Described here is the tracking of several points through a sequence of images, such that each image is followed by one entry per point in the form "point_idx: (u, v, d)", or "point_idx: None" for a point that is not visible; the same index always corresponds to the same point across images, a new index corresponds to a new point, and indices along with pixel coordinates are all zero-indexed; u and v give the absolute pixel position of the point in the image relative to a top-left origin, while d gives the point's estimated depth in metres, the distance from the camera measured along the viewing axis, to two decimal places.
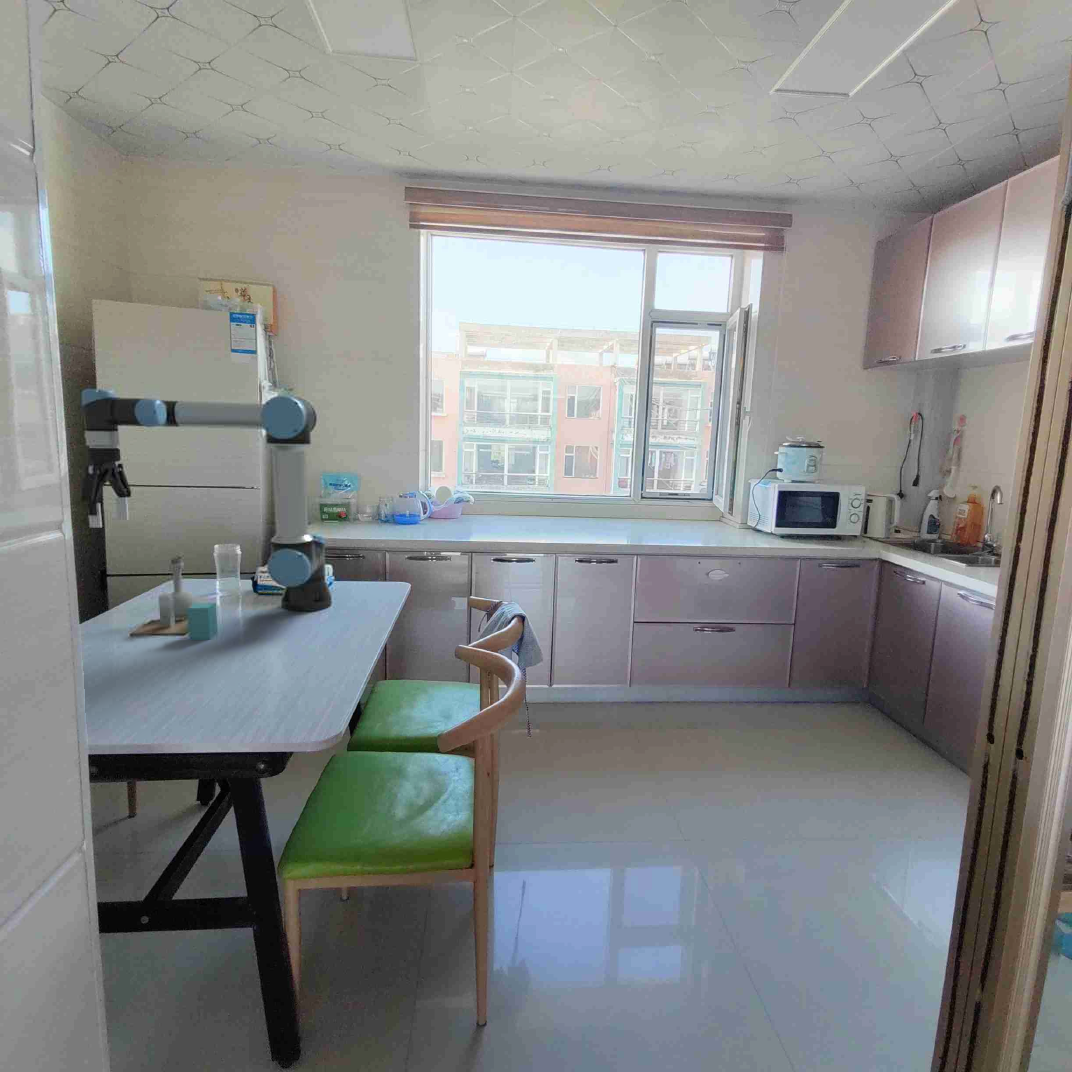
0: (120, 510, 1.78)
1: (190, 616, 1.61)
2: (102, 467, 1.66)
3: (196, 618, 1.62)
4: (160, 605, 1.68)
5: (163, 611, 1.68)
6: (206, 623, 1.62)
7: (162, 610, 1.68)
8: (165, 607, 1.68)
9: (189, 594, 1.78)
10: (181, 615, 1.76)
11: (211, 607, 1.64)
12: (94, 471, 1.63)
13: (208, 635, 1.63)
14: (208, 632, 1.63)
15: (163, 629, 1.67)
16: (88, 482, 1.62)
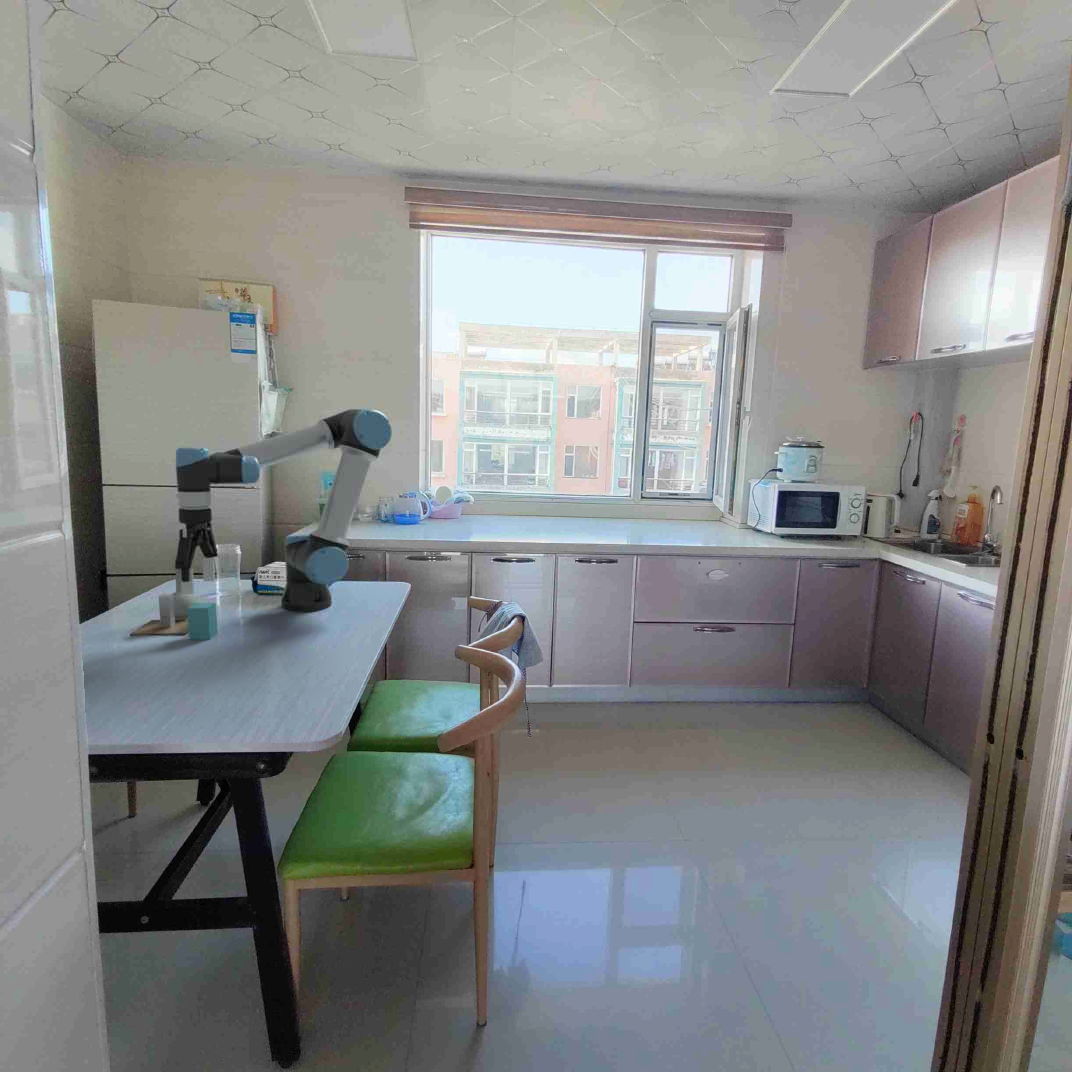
0: (206, 571, 1.68)
1: (190, 616, 1.61)
2: (195, 529, 1.57)
3: (196, 618, 1.62)
4: (160, 605, 1.68)
5: (163, 611, 1.68)
6: (206, 623, 1.62)
7: (162, 610, 1.68)
8: (165, 607, 1.68)
9: (191, 595, 1.78)
10: (181, 616, 1.76)
11: (211, 607, 1.64)
12: (188, 535, 1.54)
13: (208, 635, 1.63)
14: (208, 632, 1.63)
15: (163, 629, 1.67)
16: (182, 547, 1.53)
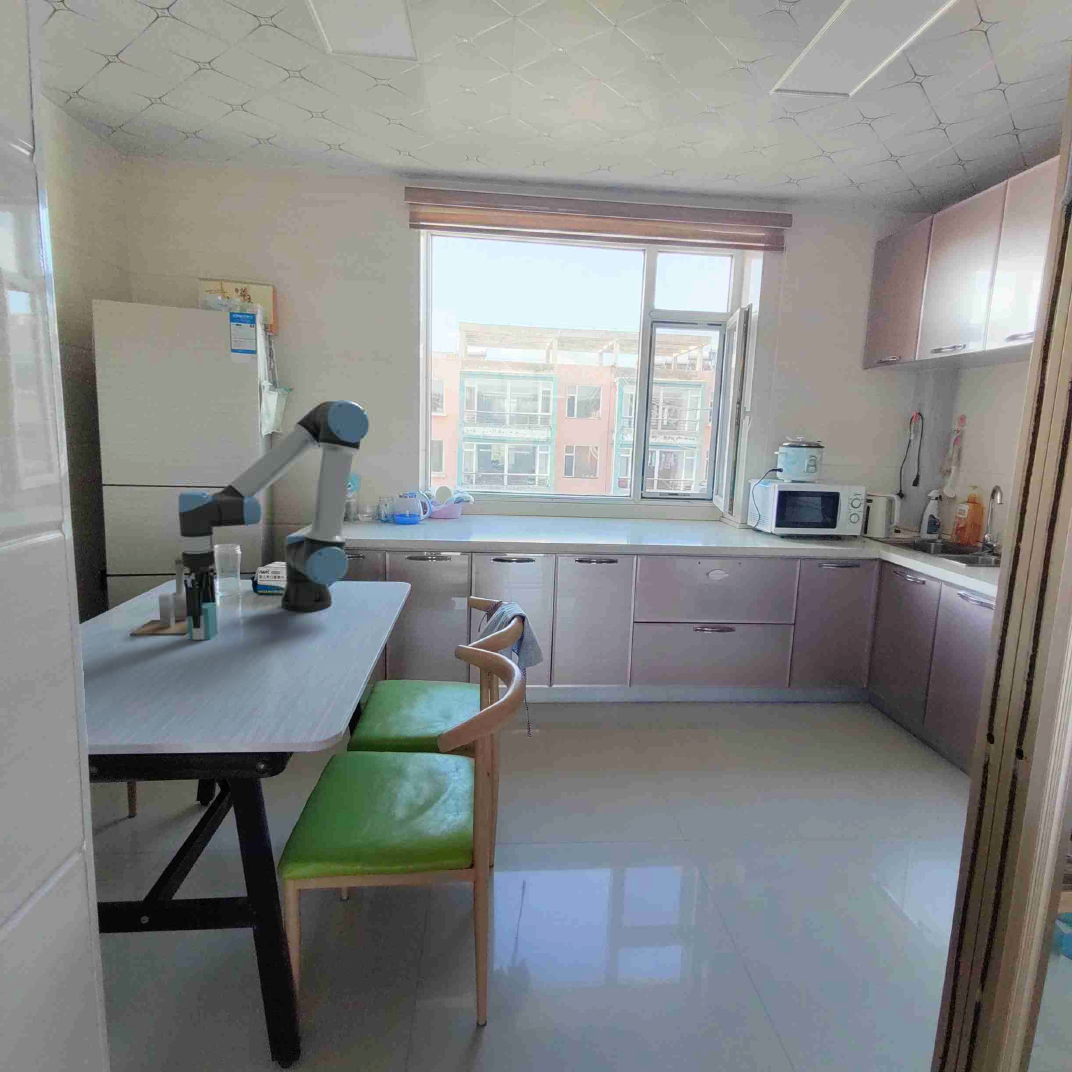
0: None
1: (190, 616, 1.61)
2: (198, 574, 1.59)
3: None
4: (160, 605, 1.68)
5: (163, 611, 1.68)
6: (206, 623, 1.62)
7: (162, 610, 1.68)
8: (165, 607, 1.68)
9: None
10: (181, 616, 1.76)
11: (211, 607, 1.64)
12: (193, 585, 1.56)
13: (208, 635, 1.63)
14: (208, 632, 1.63)
15: (163, 629, 1.67)
16: (190, 596, 1.57)
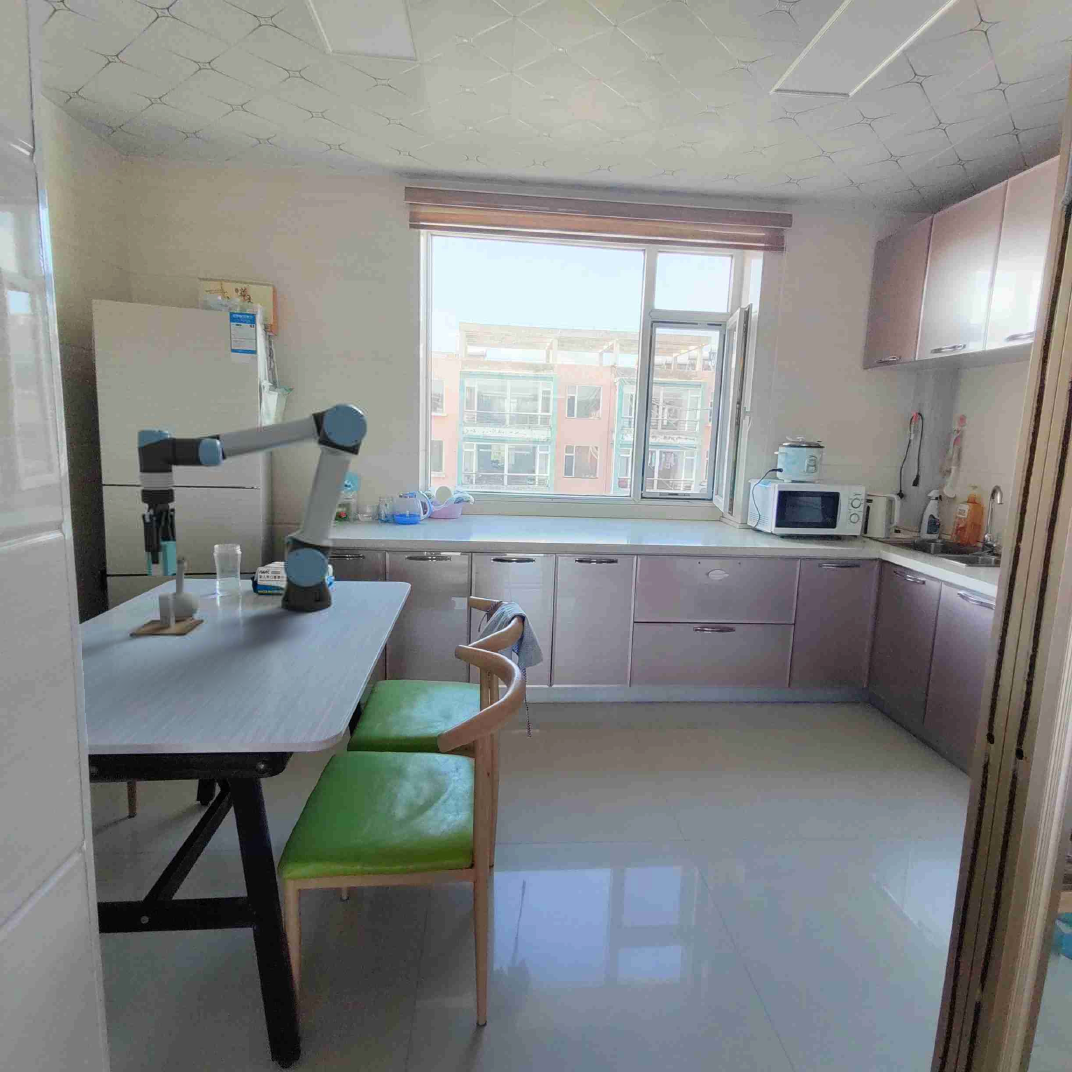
0: None
1: (148, 553, 1.64)
2: (156, 510, 1.62)
3: None
4: (160, 605, 1.68)
5: (163, 611, 1.68)
6: (165, 560, 1.65)
7: (162, 610, 1.68)
8: (165, 607, 1.68)
9: (191, 595, 1.78)
10: (181, 616, 1.76)
11: (170, 544, 1.66)
12: (151, 520, 1.59)
13: (167, 572, 1.65)
14: (167, 569, 1.65)
15: (163, 629, 1.67)
16: (148, 531, 1.60)
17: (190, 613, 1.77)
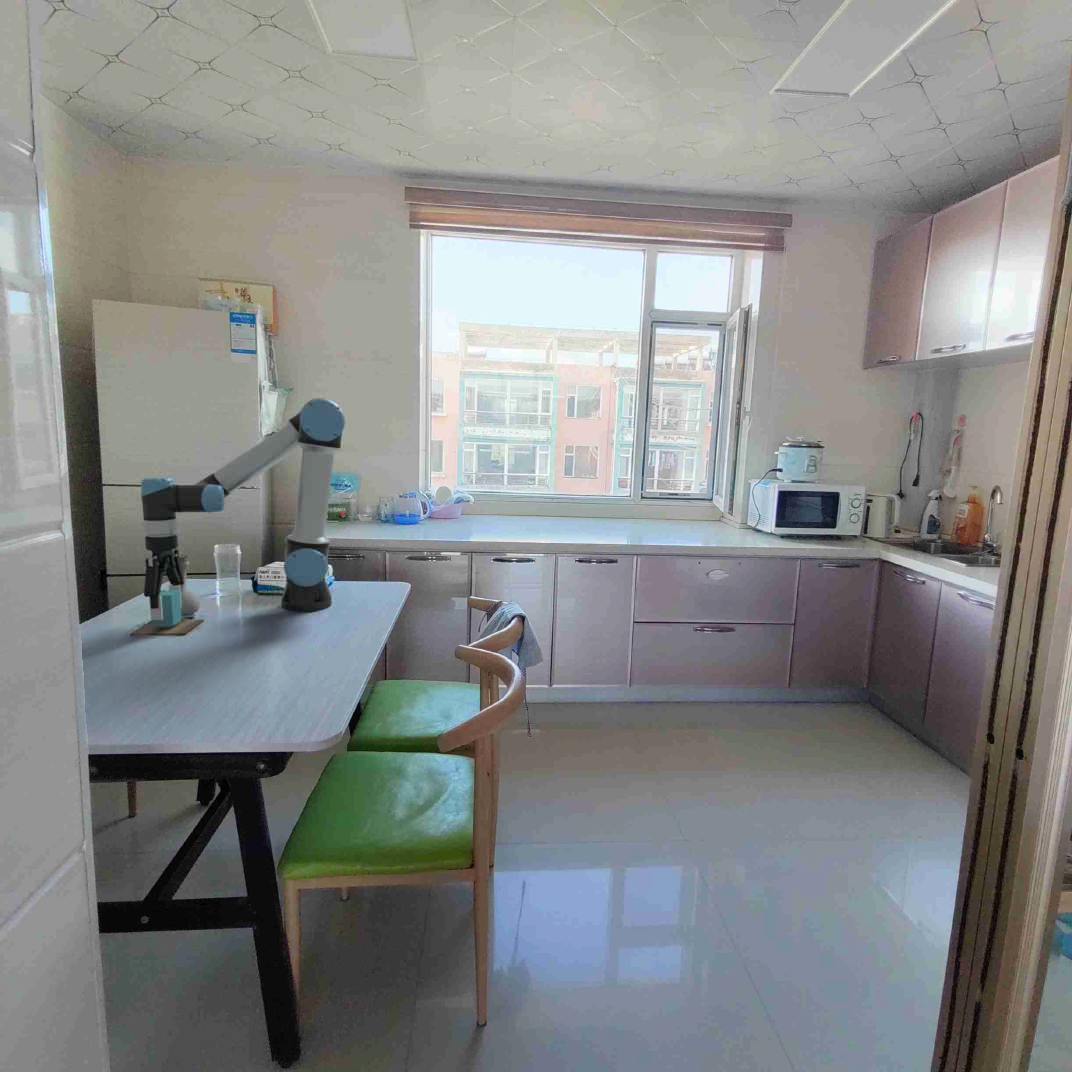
0: None
1: None
2: (160, 556, 1.64)
3: None
4: None
5: None
6: (169, 610, 1.67)
7: None
8: None
9: (192, 593, 1.80)
10: (183, 614, 1.77)
11: (174, 594, 1.69)
12: (154, 564, 1.61)
13: (171, 621, 1.68)
14: (171, 619, 1.68)
15: (163, 629, 1.67)
16: (149, 576, 1.60)
17: (192, 611, 1.78)
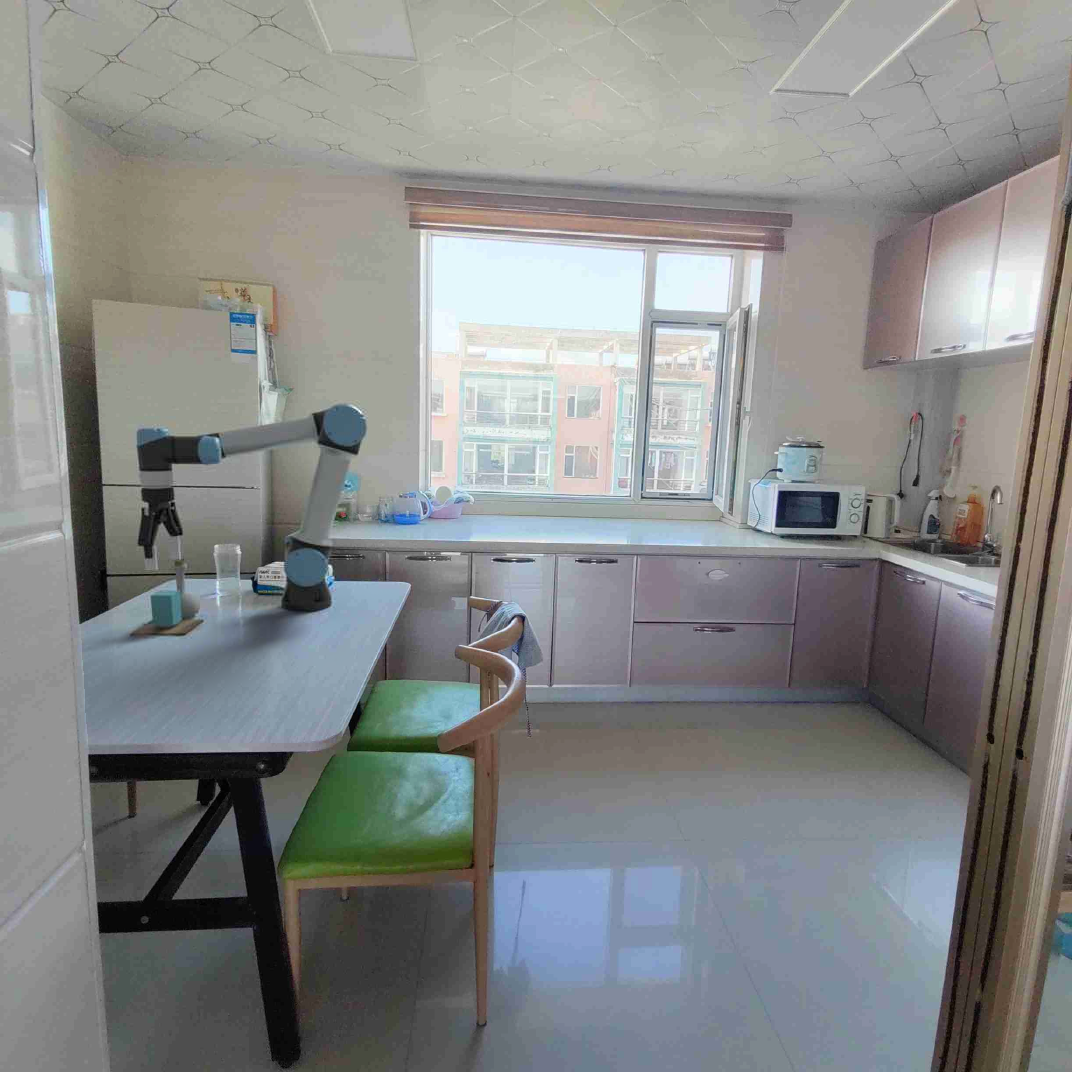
0: (172, 550, 1.73)
1: (153, 603, 1.66)
2: (157, 508, 1.62)
3: (159, 605, 1.67)
4: None
5: None
6: (169, 610, 1.67)
7: None
8: None
9: (192, 596, 1.79)
10: (184, 617, 1.78)
11: (174, 594, 1.69)
12: (150, 513, 1.58)
13: (171, 621, 1.68)
14: (171, 619, 1.68)
15: (163, 629, 1.67)
16: (144, 524, 1.57)
17: (193, 613, 1.78)
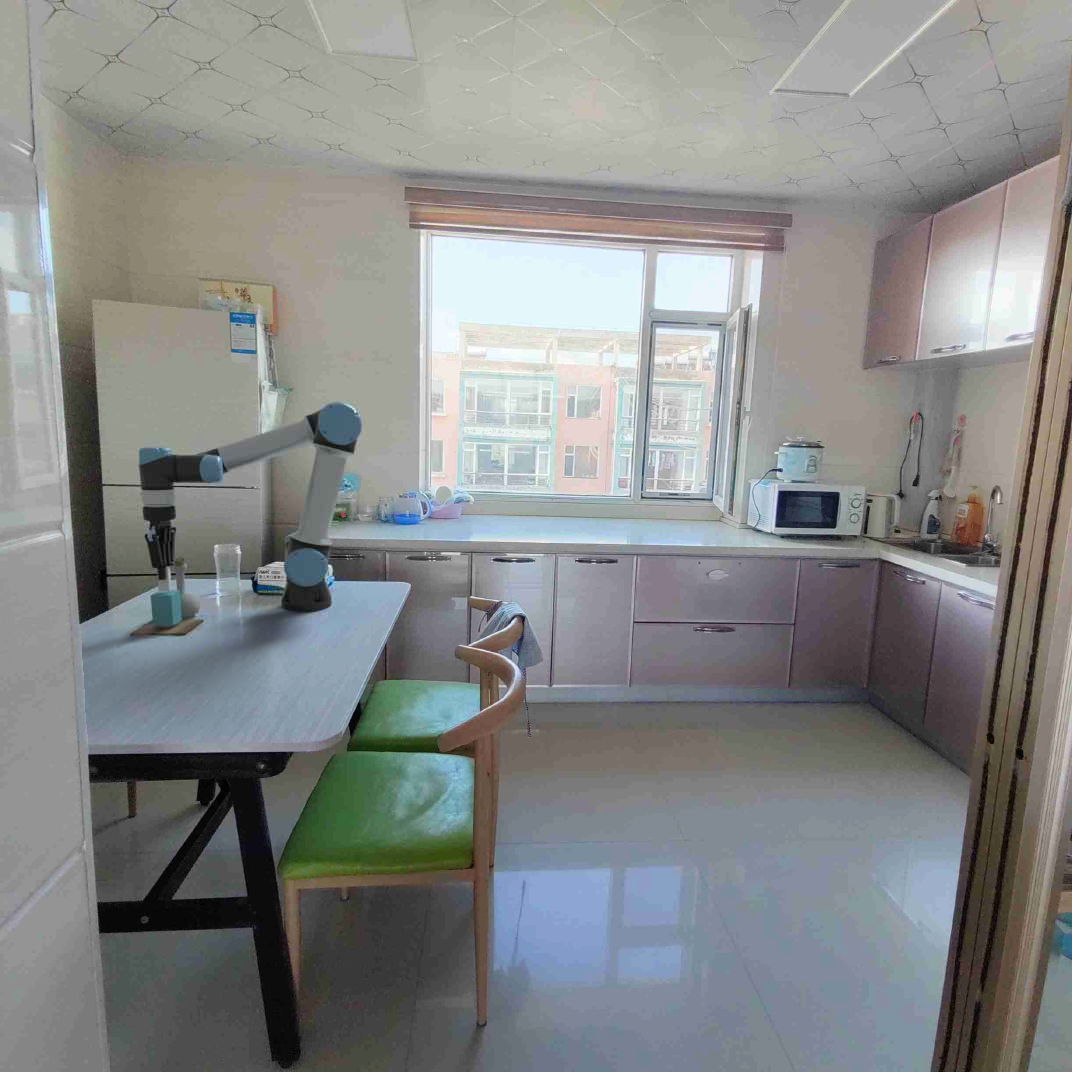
0: None
1: (153, 603, 1.66)
2: (158, 527, 1.62)
3: (159, 605, 1.67)
4: None
5: None
6: (169, 610, 1.67)
7: None
8: None
9: (192, 596, 1.79)
10: (184, 617, 1.78)
11: (174, 594, 1.69)
12: (154, 540, 1.61)
13: (171, 621, 1.68)
14: (171, 619, 1.68)
15: (163, 629, 1.67)
16: (152, 550, 1.62)
17: (193, 613, 1.78)
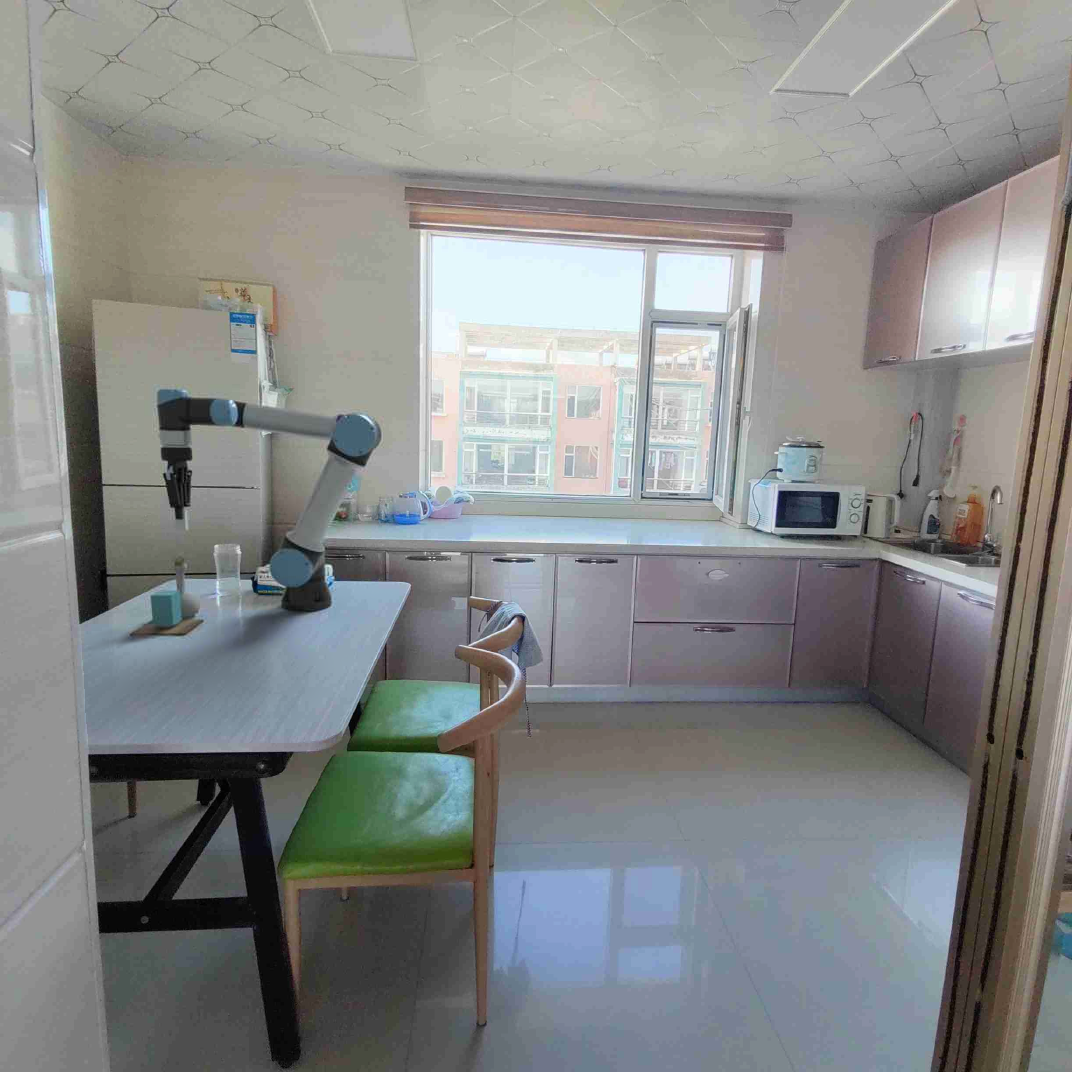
0: None
1: (153, 603, 1.66)
2: (176, 467, 1.68)
3: (159, 605, 1.67)
4: None
5: None
6: (169, 610, 1.67)
7: None
8: None
9: (192, 596, 1.79)
10: (184, 617, 1.78)
11: (174, 594, 1.69)
12: (172, 479, 1.66)
13: (171, 621, 1.68)
14: (171, 619, 1.68)
15: (163, 629, 1.67)
16: (170, 489, 1.67)
17: (193, 613, 1.78)
